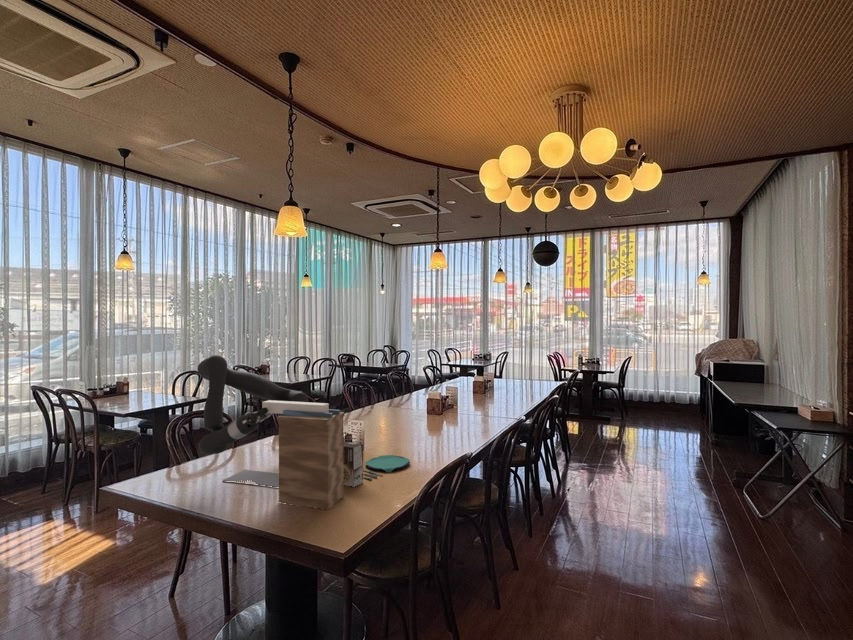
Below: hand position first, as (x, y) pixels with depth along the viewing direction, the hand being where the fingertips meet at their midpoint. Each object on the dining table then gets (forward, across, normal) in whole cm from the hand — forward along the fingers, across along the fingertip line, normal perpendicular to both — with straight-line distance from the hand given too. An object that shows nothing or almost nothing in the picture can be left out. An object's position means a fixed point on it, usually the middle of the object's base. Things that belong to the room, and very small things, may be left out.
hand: (273, 407), depth 171 cm
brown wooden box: (-3, 0, +37) cm, 38 cm away
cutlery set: (+6, +41, +44) cm, 60 cm away
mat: (-30, +14, +22) cm, 40 cm away
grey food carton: (+2, +20, +41) cm, 45 cm away
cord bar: (+7, 0, +6) cm, 9 cm away
